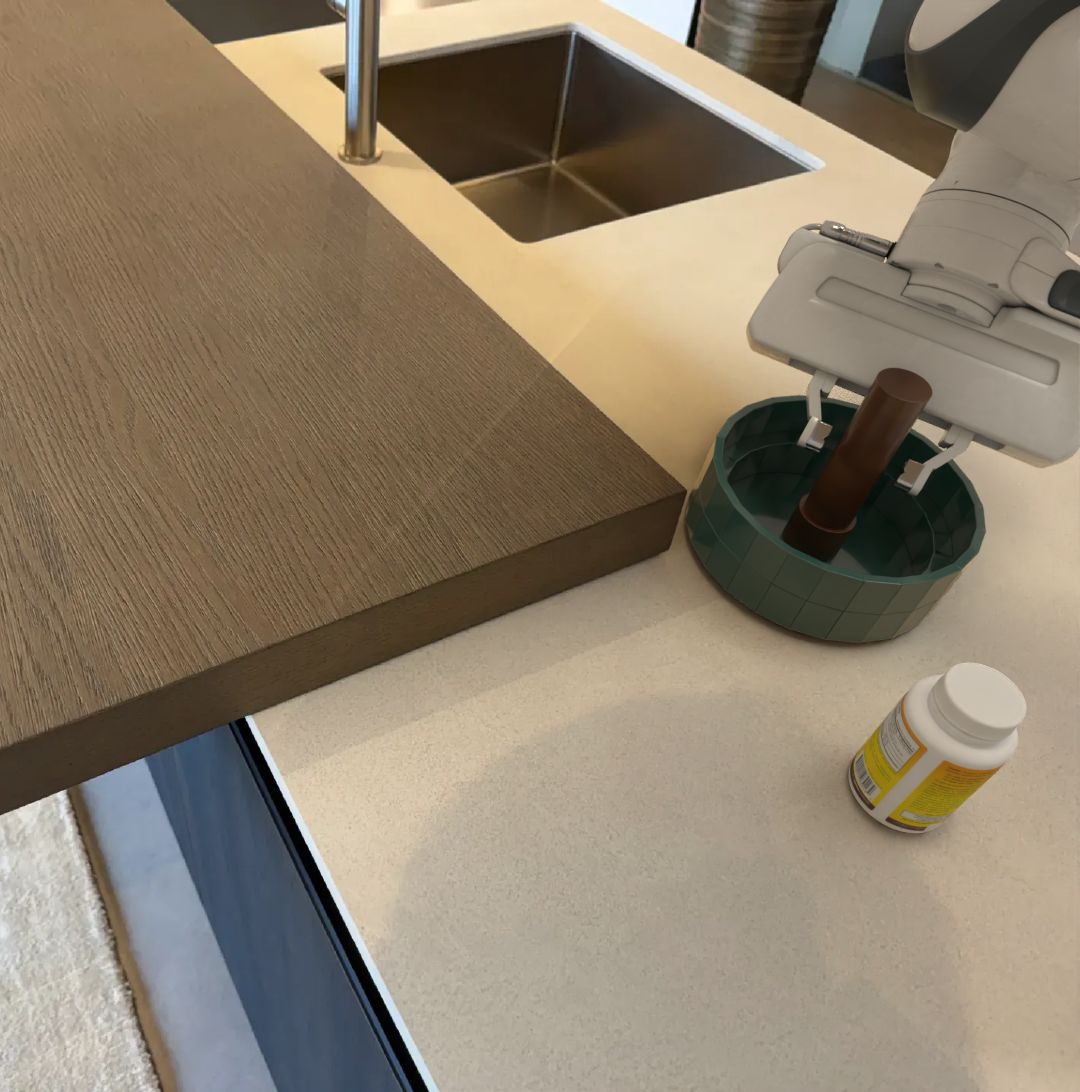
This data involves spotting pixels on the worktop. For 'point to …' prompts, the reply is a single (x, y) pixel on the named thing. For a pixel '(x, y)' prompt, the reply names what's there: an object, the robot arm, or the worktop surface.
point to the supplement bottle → (938, 747)
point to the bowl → (867, 554)
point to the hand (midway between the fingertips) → (855, 469)
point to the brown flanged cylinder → (857, 463)
